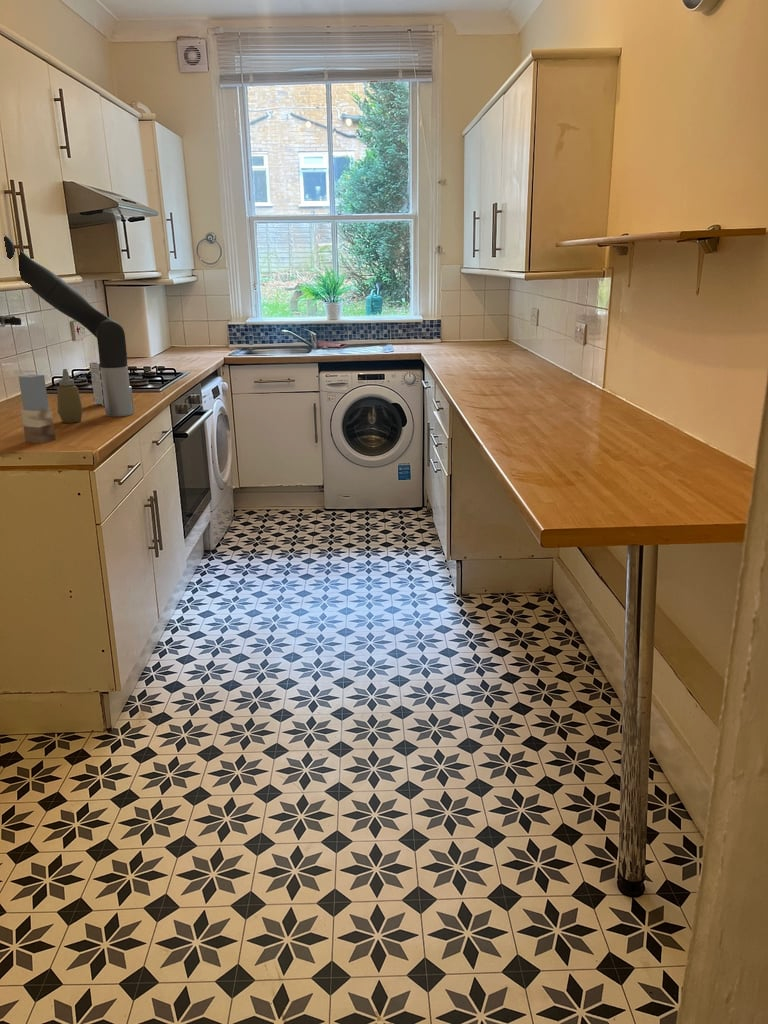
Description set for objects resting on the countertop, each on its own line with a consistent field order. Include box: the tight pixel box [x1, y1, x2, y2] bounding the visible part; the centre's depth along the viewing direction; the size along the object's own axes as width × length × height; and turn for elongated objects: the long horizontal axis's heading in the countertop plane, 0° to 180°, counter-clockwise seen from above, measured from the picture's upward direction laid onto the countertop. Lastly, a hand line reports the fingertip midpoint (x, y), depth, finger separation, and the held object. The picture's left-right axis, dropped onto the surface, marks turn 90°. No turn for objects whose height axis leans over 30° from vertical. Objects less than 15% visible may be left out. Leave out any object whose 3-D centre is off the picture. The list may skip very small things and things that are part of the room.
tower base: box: [22, 423, 56, 444], centre depth 237 cm, size 6×6×5 cm
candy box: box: [89, 360, 131, 407], centre depth 300 cm, size 14×6×16 cm, turn 149°
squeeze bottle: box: [56, 368, 84, 424], centre depth 264 cm, size 8×8×18 cm
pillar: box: [18, 373, 50, 411], centre depth 233 cm, size 5×5×10 cm
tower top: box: [20, 407, 54, 428], centre depth 236 cm, size 6×6×5 cm
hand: (9, 322), depth 236 cm, fingers open, 8 cm apart
